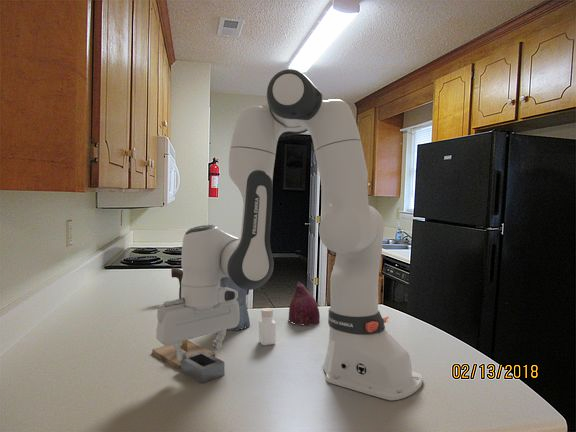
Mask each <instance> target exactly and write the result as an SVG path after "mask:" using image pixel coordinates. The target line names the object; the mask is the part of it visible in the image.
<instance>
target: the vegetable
mask: <svg viewBox="0 0 576 432" xmlns="http://www.w3.org/2000/svg"><path fill="white" fill-rule="evenodd" d="M294 290H295V291H294V293H293V296H292V298H291V301H290V304H289V307H288V308H289V310H288V321H289V320H290V321H291V322H293V323H295V324H304V325H303V326H310V325H309V324H313V325H317V324H319V322H320V316H321V315H320V309H319V306H318V303H317V302H316V299H315V297H314V296H313V295H312V293H311V292H309V290H308V289H307V288H306V287H305V285H304V284H303V283H301V282H300V281H298V282H297V284H296V286H295V289H294ZM290 321H289V322H290ZM291 322H290V323H291ZM295 324H294V325H295Z"/></svg>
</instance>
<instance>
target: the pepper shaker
mask: <svg viewBox="0 0 576 432" xmlns="http://www.w3.org/2000/svg"><path fill="white" fill-rule="evenodd" d="M273 316H274V310H273V308H271V307H265V308H262V309H261V319H260V320H258V341H259V343H260V342H261V343H260V344H261V345H262V346H268V345H269V346H270V345H275V344H276V341H277V340H276V338H277V337H276V335H277V333H276V324H277V323H276V321H275V320H274V318H273Z"/></svg>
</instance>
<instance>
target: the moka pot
mask: <svg viewBox="0 0 576 432" xmlns="http://www.w3.org/2000/svg"><path fill="white" fill-rule="evenodd" d="M220 286H224V287H227V288H231V289H233V290H236V291H237V292H238V298H237V299H236V300H237V301H238V303H239V311H240V320H239V323H238V325H237V327H234V328H230V329H228V330H227V331H237V330H236V329H241V328H245V327H247V326H248V327H250V325H251V322H250V317H249V311H248V306H247V295H249V294H250V290H246V289H242V288H240V287H238V286H237V285H236V284H235V283H234V282H233V281H232V280H231V279H230V278H229V277H223V278H221V279H220ZM248 327H247V328H248ZM245 329H246V328H245ZM241 330H242V329H241Z"/></svg>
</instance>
